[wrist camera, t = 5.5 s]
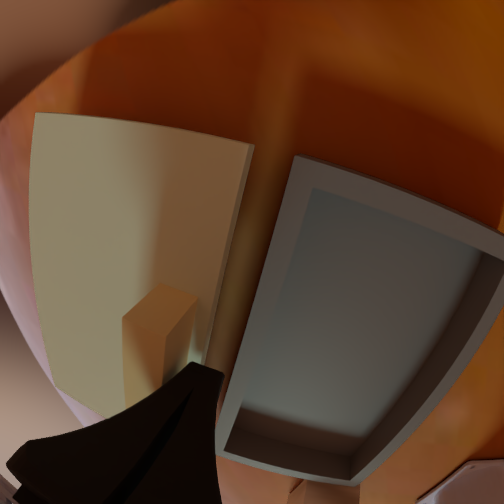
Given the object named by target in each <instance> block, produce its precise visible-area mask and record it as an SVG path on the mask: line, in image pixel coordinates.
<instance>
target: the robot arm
mask: <svg viewBox="0 0 504 504" xmlns="http://www.w3.org/2000/svg"><path fill="white" fill-rule="evenodd" d="M224 377H225V375H224V374H223V372H220V371H217V370H214V369H212V368H209V367H206V366H204V365H201V364H199V363H196V362H193V361H192V362H189V363H188V364H187V365H186V366H185V367H184V368H183V369H182V370H181V371H180V372H179V373H177V374H176V375H175V376H174V377H173V378H171V379H170V380H169V381H168V382H166V383H165V384H164V385H162V386H161V387H160V388H158V389H157V390H156V391H154V392H153V393H151V394H150V395H149V396H147V397H145V398H144V399H142V400H141V401H139V402H137V403H136V404H134V405H133V406H131V407H129V408H127V409H126V410H124V411H122V412H120V413H118V414H116V415H114V416H112V417H110V418H108V419H105V420H103V421H100V422H98V423H96V424H93V425H90V426H88V427H85V428H82V429H79V430H75V431H72V432H68V433H65V434H61V435H57V436H53V437H46V438H41V439H35V440H29V441H27V442H26V443H25V444H24V445H22V446H21V447H20V448H19V449H18V450H17V451H16V452H15V453H14V454H13V456H12V457H11V458H10V459H9V460H8V461H7V463H6V466H7V468H8V469H9V471H10V472H11V473H12V474H13V475H14V476H15V477H16V479H17V480H18V481H19V482H20V483H21V484H22V485H21V487H20V488H19V489H18V490H17V489H16V488H15V487H14V486H13V485H12V484H10V483H9V482H8V481H7V480H6V479H5V478H4V477H3V476H2V475H1V474H0V504H12V503H13V504H222V500H221V495H220V489H219V484H218V476H217V468H216V455H215V421H216V409H217V402H218V398H219V394H220V391H221V387H222V384H223V380H224ZM415 504H504V459H501V460H481V461H469V462H466V463H465V464H464V465H463V466H461V467H460V468H459V469H458V470H457V471H456V472H454V473H453V474H452V475H451V476H450V477H448V478H447V479H446V480H445V481H443V482H442V483H441V484H439V485H438V486H437V487H435V488H434V489H433V490H431V491H430V492H429V493H427V494H426V495H425V496H423V497H422V498H420V499H419V500H417V501H416V502H415Z"/></svg>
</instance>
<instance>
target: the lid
mask: <svg viewBox="0 0 504 504" xmlns="http://www.w3.org/2000/svg"><path fill="white" fill-rule="evenodd" d="M254 147H255V145H254V144H249V143H245V142H241V141H237V140H233V139H228V138H224V137H219V136H215V135H210V134H205V133H200V132H195V131H190V130H185V129H180V128H174V127H169V126H163V125H157V124H151V123H144V122H138V121H131V120H124V119H116V118H108V117H99V116H90V115H80V114H68V113H54V112H36V114H35V121H34V129H33V137H32V147H31V159H30V177H29V232H30V250H31V262H32V272H33V281H34V289H35V296H36V303H37V309H38V315H39V321H40V326H41V331H42V336H43V341H44V345H45V350H46V354H47V358H48V362H49V366H50V370H51V373H52V377H53V380H54V384H55V387H57V388H58V389H60V390H61V391H63V392H64V393H66V394H67V395H69V396H70V397H72V398H73V399H75V400H76V401H78V402H80V403H81V404H83V405H84V406H86V407H88V408H89V409H91V410H93V411H94V412H96V413H98V414H99V415H101V416H103V417H105V418H106V419H108V418H110V417H112V416H114V415H116V414H118V413H120V412H122V411H124V410H126V409H127V408H129V407H131V406H133V405H134V404H136V403H137V402H139V401H141V400H142V399H144V398H145V397H147V396H149V395H150V394H151V393H153V392H154V391H156V390H157V389H158V388H160V387H161V386H162V385H164V384H165V383H166V382H168V381H169V380H170V379H171V378H173V377H174V376H175V375H176V374H177V373H179V372H180V371H181V370H182V369H183V368H184V367H185V366H186V365H187V364H188V363H189V362H192V361H193V362H196V363H199V364H201V365H204V364H205V360H206V355H207V350H208V346H209V341H210V336H211V332H212V327H213V322H214V318H215V313H216V309H217V304H218V300H219V295H220V291H221V286H222V282H223V277H224V273H225V269H226V264H227V260H228V255H229V251H230V247H231V242H232V238H233V234H234V230H235V225H236V221H237V217H238V213H239V209H240V204H241V200H242V196H243V192H244V188H245V184H246V180H247V176H248V171H249V167H250V163H251V159H252V155H253V151H254Z"/></svg>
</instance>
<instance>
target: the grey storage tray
mask: <svg viewBox="0 0 504 504" xmlns="http://www.w3.org/2000/svg"><path fill="white" fill-rule="evenodd" d="M503 305H504V234H503V233H502V232H500V231H498V230H496V229H494V228H492V227H490V226H488V225H486V224H484V223H482V222H480V221H478V220H476V219H474V218H472V217H470V216H468V215H465V214H463V213H461V212H459V211H457V210H455V209H452V208H450V207H448V206H446V205H443V204H441V203H439V202H436V201H434V200H432V199H429V198H427V197H424V196H422V195H420V194H417V193H415V192H412V191H410V190H407V189H405V188H402V187H399V186H397V185H394V184H392V183H389V182H386V181H384V180H381V179H378V178H375V177H373V176H370V175H367V174H364V173H361V172H358V171H355V170H352V169H349V168H346V167H343V166H340V165H337V164H334V163H331V162H328V161H325V160H321V159H318V158H315V157H311V156H308V155H305V154H301V153H300V154H297V155H295V156H294V160H293V164H292V167H291V171H290V175H289V178H288V182H287V186H286V189H285V193H284V196H283V200H282V204H281V207H280V211H279V214H278V218H277V222H276V225H275V229H274V232H273V236H272V239H271V243H270V246H269V250H268V254H267V257H266V261H265V264H264V268H263V271H262V275H261V278H260V281H259V285H258V288H257V292H256V295H255V299H254V302H253V306H252V309H251V313H250V316H249V319H248V323H247V326H246V330H245V333H244V336H243V340H242V343H241V346H240V350H239V353H238V357H237V360H236V363H235V367H234V370H233V373H232V377H231V380H230V383H229V386H228V390H227V393H226V396H225V400H224V403H223V406H222V409H221V413H220V416H219V419H218V423H217V426H216V429H215V455H218V456H221V457H224V458H227V459H230V460H233V461H236V462H239V463H243V464H246V465H249V466H253V467H256V468H260V469H264V470H267V471H271V472H275V473H279V474H284V475H288V476H292V477H297V478H302V479H307V480H312V481H317V482H323V483H329V484H335V485H342V486H350V487H356V486H357V485H358V484H360V483H361V482H362V481H363V480H364V479H365V478H367V477H368V476H369V475H370V474H371V473H372V472H373V471H375V470H376V469H377V468H378V467H379V466H380V465H381V464H382V463H383V462H384V461H385V460H386V459H388V458H389V457H390V456H391V455H392V454H393V453H394V452H395V451H396V450H397V449H398V448H399V447H400V446H401V445H402V444H403V443H404V442H405V441H406V440H407V438H408V437H409V436H410V435H411V434H412V433H413V432H414V431H415V430H416V429H417V428H418V427H419V426H420V424H421V423H422V422H423V421H424V420H425V419H426V418H427V416H428V415H429V414H430V413H431V412H432V411H433V409H434V408H435V407H436V406H437V405H438V403H439V402H440V401H441V400H442V398H443V397H444V396H445V395H446V393H447V392H448V391H449V389H450V388H451V387H452V385H453V384H454V383H455V381H456V380H457V379H458V377H459V376H460V375H461V373H462V372H463V370H464V369H465V368H466V366H467V365H468V363H469V362H470V360H471V359H472V357H473V356H474V354H475V353H476V351H477V350H478V348H479V346H480V345H481V343H482V342H483V340H484V338H485V337H486V335H487V334H488V332H489V330H490V328H491V327H492V325H493V323H494V322H495V320H496V318H497V316H498V314H499V313H500V311H501V309H502V307H503Z"/></svg>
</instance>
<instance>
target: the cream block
mask: <svg viewBox="0 0 504 504" xmlns="http://www.w3.org/2000/svg"><path fill="white" fill-rule="evenodd" d="M359 495H360V484H358V485H357V486H356V487H350V486H342V485H335V484H329V483H323V482H317V481H312V480H307V479H304V480H303V482H302V483H301V484H300V485H299V486H298V487H297V488H296V489H295V490H294V491H293V492H292V493H291V494H289V496H288V501H287V504H359Z"/></svg>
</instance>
